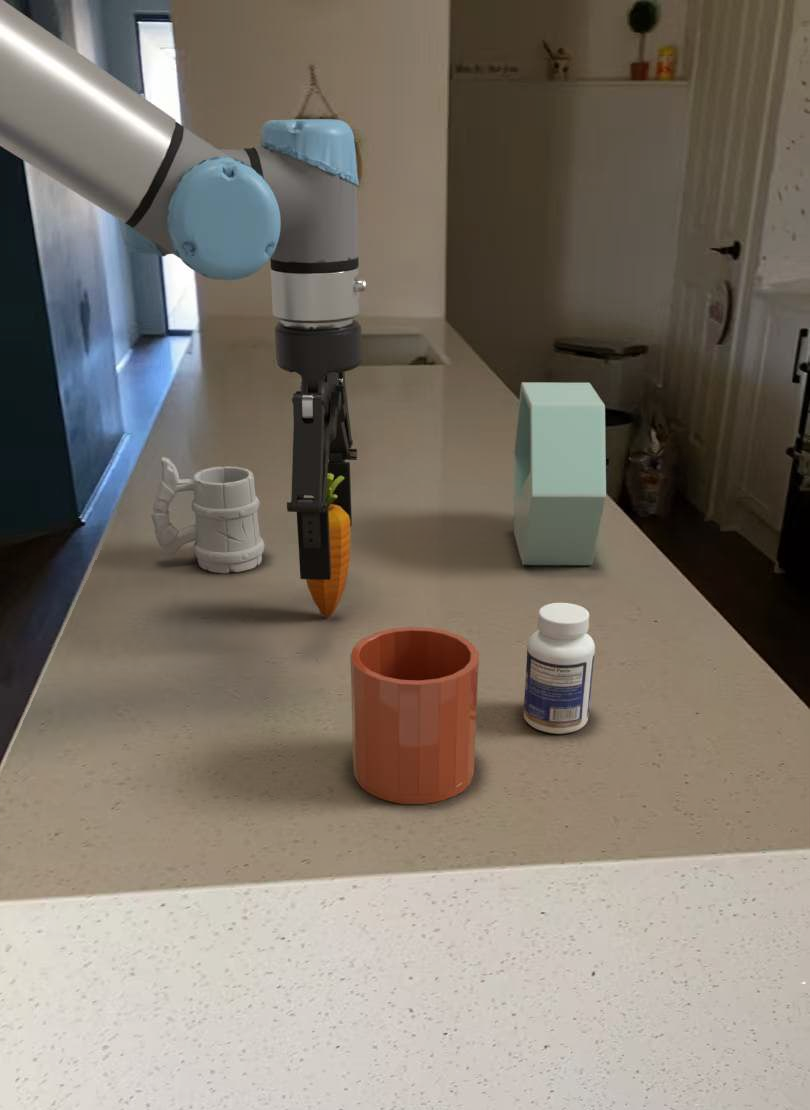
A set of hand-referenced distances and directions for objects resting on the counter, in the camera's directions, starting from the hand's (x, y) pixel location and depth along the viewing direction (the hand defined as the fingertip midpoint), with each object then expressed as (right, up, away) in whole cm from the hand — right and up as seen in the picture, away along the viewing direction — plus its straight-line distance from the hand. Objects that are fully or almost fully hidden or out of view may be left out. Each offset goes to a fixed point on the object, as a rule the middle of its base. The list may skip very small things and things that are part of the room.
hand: (327, 550), depth 105 cm
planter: (+24, +3, +20) cm, 32 cm away
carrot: (0, -6, +3) cm, 7 cm away
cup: (+8, -20, -21) cm, 30 cm away
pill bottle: (+20, -16, -14) cm, 29 cm away
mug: (-14, +1, +16) cm, 21 cm away
